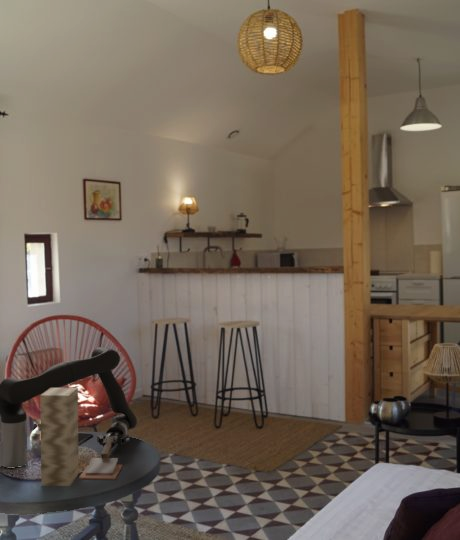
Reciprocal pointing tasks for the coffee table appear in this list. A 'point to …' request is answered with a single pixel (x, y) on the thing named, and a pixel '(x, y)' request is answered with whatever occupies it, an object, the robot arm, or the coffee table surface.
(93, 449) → the coffee table surface
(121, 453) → the coffee table surface
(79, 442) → the phone
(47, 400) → the stand
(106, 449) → the turner
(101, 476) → the tile
